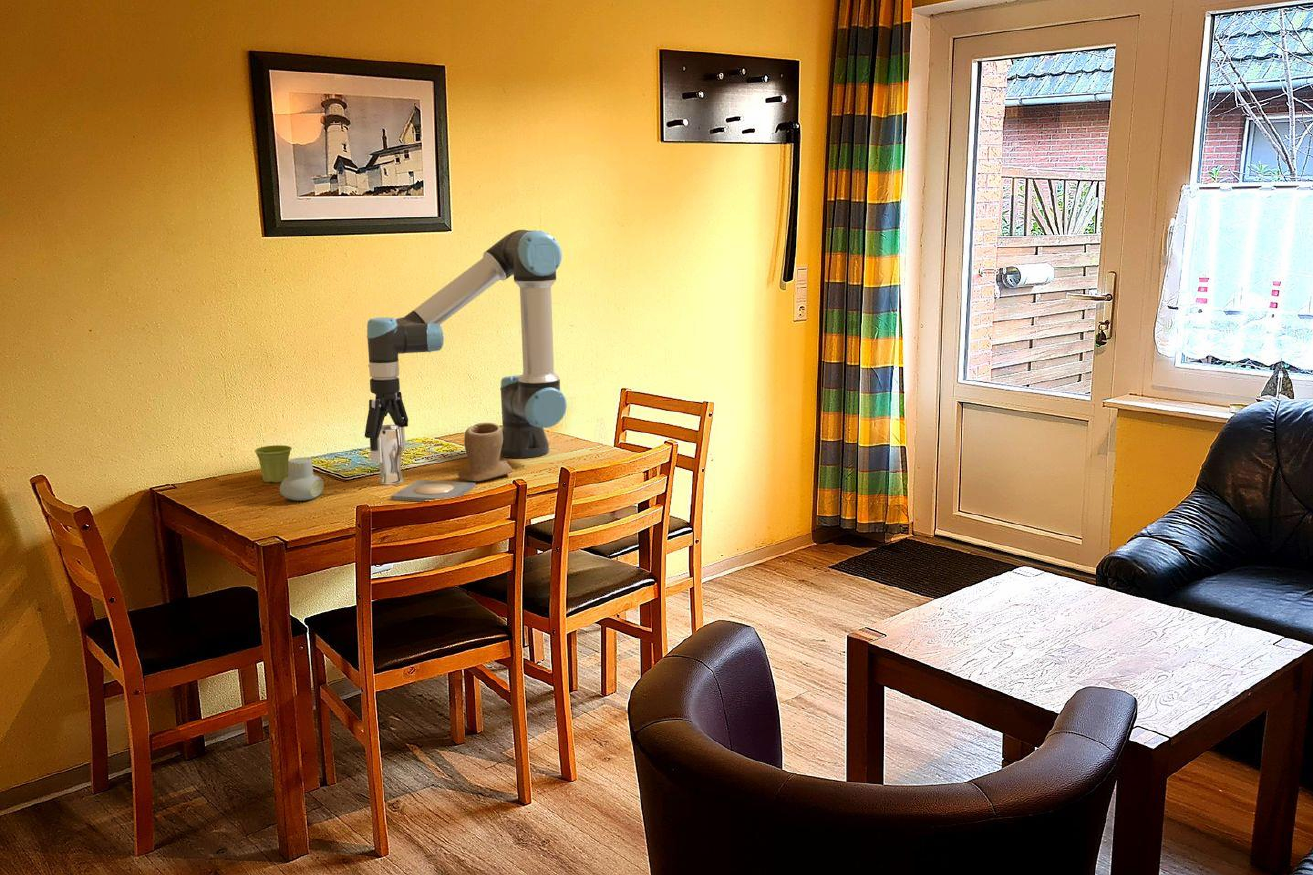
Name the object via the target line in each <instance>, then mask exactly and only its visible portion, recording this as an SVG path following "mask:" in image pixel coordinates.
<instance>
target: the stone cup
mask: <svg viewBox="0 0 1313 875" xmlns="http://www.w3.org/2000/svg"><path fill="white" fill-rule="evenodd" d="M463 441H464V450H465V453H466V455H467V458H468V463H469V467H468V468H465V469H462V470H460V471H458V472H457V476H458V477H459V478H460V479H462V480H465V481H469V482H481V481H485V480H490V479H494V478H497V477H498V478H499V477H501V476H505V475H508V474H511V473H513V471H514V470H513V467H512V466H510V464H509V463H508V461H507V460H506V459H500V458H501V456H500V453H501V448H502V444H503V433H502V427H501V426H500V424H497V423H494V422H479V423H476V424H474V425H473V426H468V427H467V429H466V430H465V432H464V440H463Z"/></svg>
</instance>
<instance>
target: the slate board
mask: <svg viewBox="0 0 1313 875" xmlns="http://www.w3.org/2000/svg"><path fill="white" fill-rule="evenodd" d="M474 488H476V482H470V481H469V482H466V481H447V480H431V479H430V480H426V479H418V480H416V481H413V482H412V483H411V484H409V485H407V486H406V487H404V488H402V489H401V490H399V491H397V492H395V493H393V494H392V495H391V496H390V498H391V500H393V501H406V502H407V501H409V502H410V501H411V502H424V501H425V500H435V499H445V498H452V497H459V498H460V497H461V496H464V495H465V494H467V493H468V492H469V491H471V490H473V489H474Z"/></svg>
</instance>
